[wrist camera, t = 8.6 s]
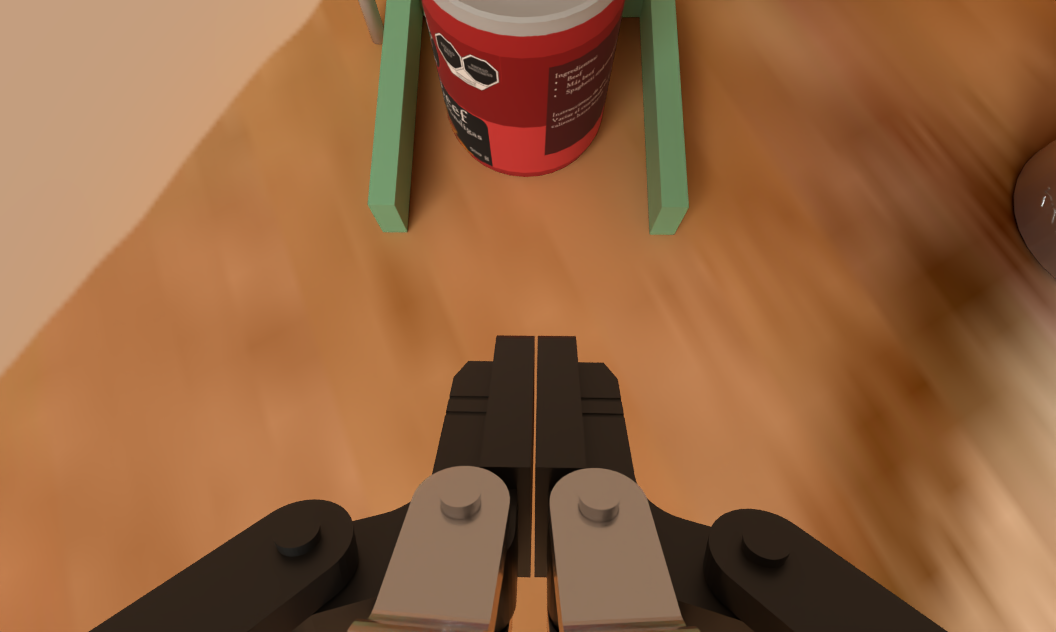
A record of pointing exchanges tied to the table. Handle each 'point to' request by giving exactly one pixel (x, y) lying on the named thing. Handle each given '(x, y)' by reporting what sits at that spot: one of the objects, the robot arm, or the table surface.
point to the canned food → (524, 77)
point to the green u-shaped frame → (400, 99)
